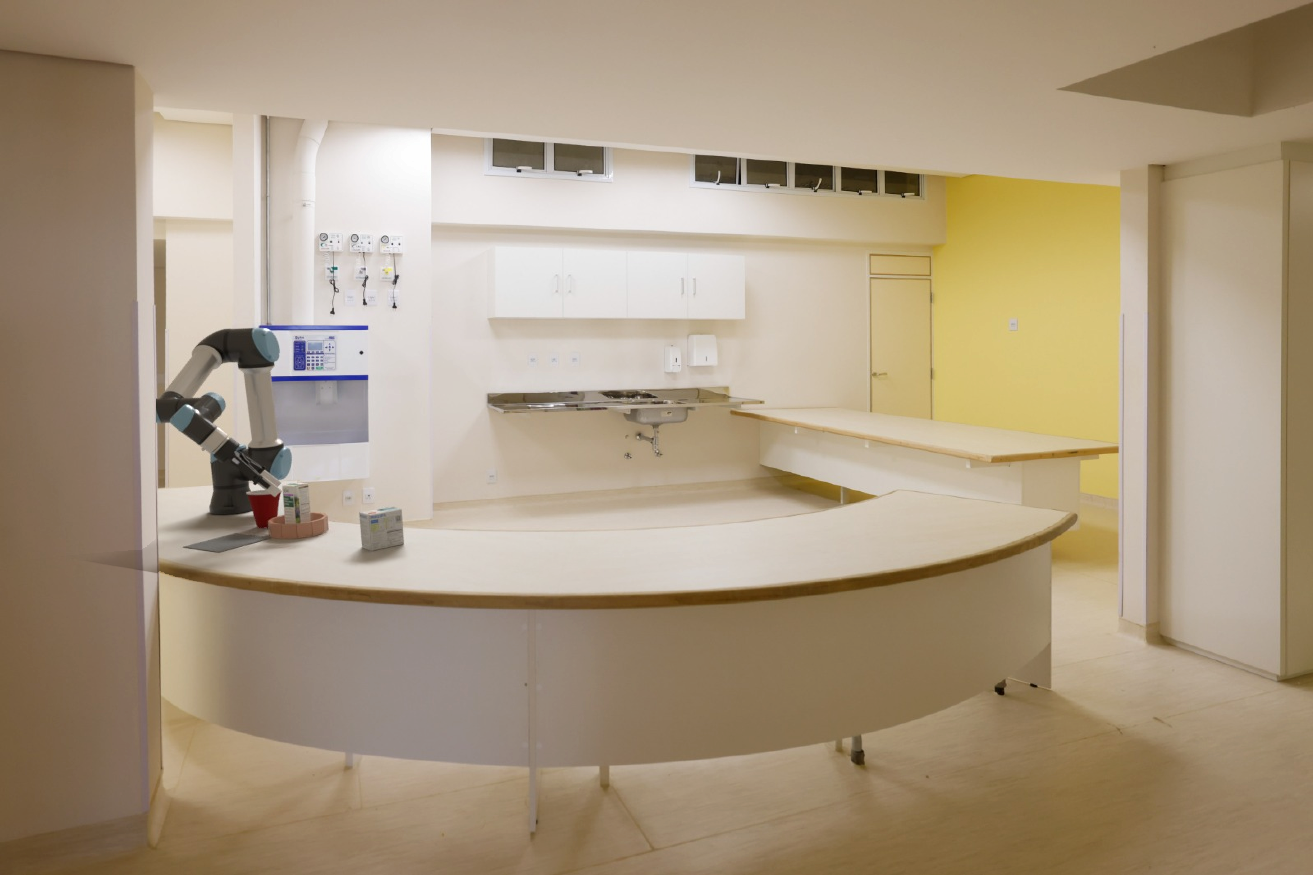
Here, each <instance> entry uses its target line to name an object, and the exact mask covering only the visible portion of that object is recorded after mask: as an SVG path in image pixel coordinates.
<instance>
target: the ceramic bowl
mask: <svg viewBox="0 0 1313 875" xmlns="http://www.w3.org/2000/svg"><path fill="white" fill-rule="evenodd" d="M310 515H311V521H310V522H303V523H295V524H285V516H284V514H283V515H279V516H278V515H277V517H274V518H272V519H270V520H268V528H267V529H268V535H269V537H271V539H272V538H273V539H279V540H287V539H288V540H290V539H303V538H310V537H314V536H318V535H321V534H324V533H326V532H327V531H329V530H330V529H329V516H328V515H327V514H326V513H324V512H315V511H310Z"/></svg>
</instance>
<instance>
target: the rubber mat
mask: <svg viewBox="0 0 1313 875" xmlns="http://www.w3.org/2000/svg"><path fill="white" fill-rule="evenodd" d="M269 539H272V537H271V536H263V535H262V536H261V535H255V534H247V533H239V532H234V533H230V534H226V535H223V536H219V537H216V538H211V539H206V540H203V541H200V542H196V543H192V544H188V545H185V546H183V548H184V549H193V550H197V551H206V552H212V553H213V552H214V553H223V552H227V551H230V550H234V549H237V548H240V546H241V547H244V546H243V545H245V546H248V545H252V544H255V543H259V542H262V540H263V541H266V540H269ZM258 541H259V542H258ZM229 549H230V550H229Z"/></svg>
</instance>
